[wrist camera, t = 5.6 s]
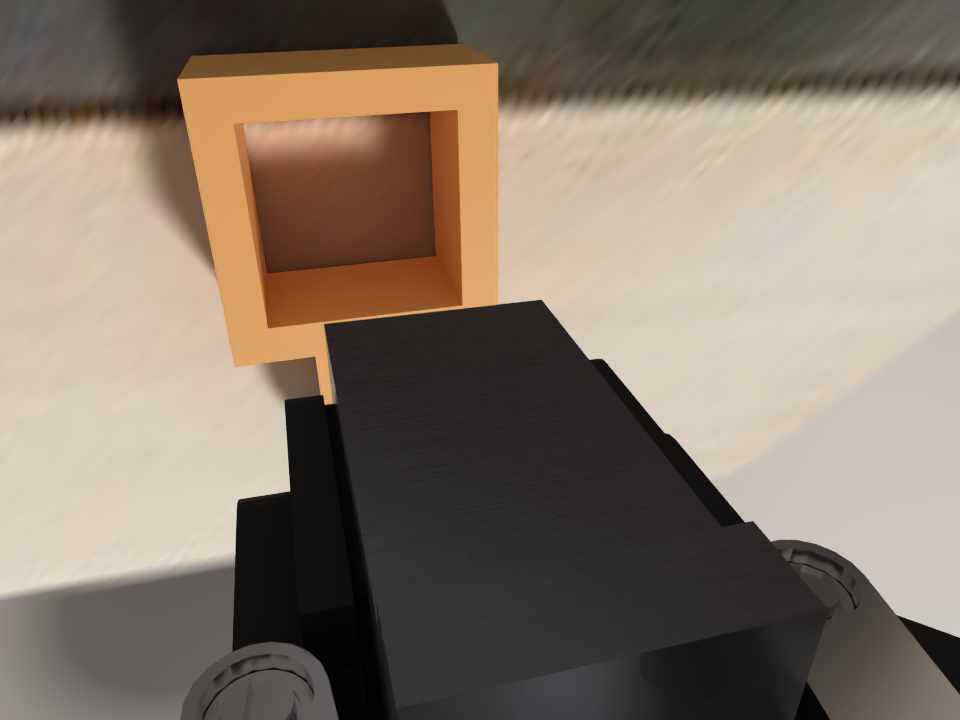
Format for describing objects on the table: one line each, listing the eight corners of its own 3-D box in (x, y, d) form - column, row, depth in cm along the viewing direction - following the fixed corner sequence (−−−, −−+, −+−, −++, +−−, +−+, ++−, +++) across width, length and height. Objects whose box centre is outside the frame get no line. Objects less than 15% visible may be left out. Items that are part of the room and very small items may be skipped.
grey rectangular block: (542, 274, 11) (829, 611, 6) (530, 542, 14) (717, 953, 8) (320, 297, 10) (395, 709, 5) (352, 575, 13) (424, 1052, 7)
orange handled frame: (191, 55, 23) (177, 79, 19) (461, 43, 25) (498, 63, 21) (271, 480, 31) (272, 555, 28) (470, 448, 33) (497, 514, 29)
